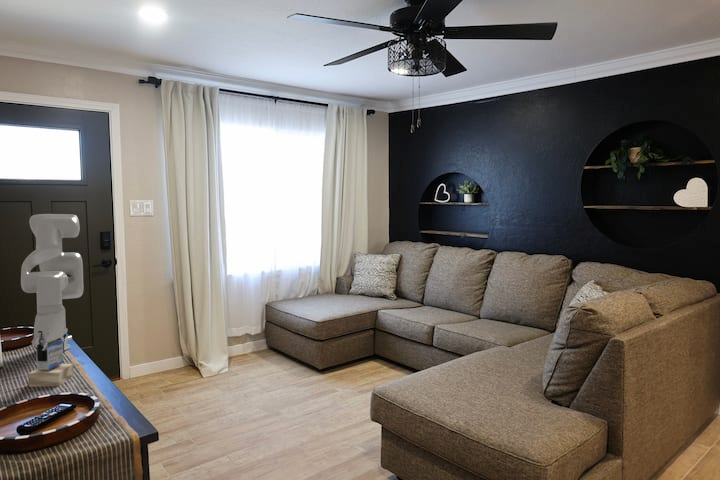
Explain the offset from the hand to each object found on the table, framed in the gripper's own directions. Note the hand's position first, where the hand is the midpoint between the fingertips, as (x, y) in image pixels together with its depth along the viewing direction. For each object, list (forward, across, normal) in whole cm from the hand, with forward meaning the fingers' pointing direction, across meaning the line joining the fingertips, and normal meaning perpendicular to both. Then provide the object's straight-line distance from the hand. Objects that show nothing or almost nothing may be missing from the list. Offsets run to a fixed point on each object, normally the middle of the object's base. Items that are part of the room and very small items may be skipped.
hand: (51, 356), depth 171 cm
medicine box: (+4, 0, 0) cm, 4 cm away
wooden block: (+9, 0, 0) cm, 9 cm away
